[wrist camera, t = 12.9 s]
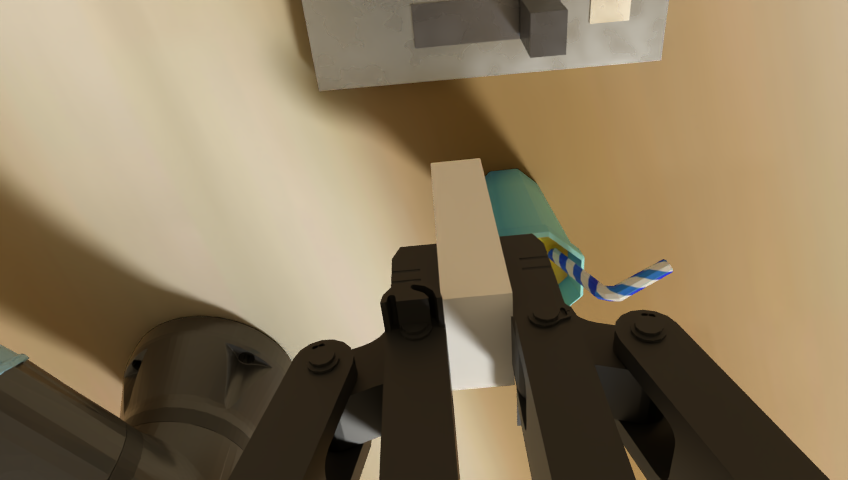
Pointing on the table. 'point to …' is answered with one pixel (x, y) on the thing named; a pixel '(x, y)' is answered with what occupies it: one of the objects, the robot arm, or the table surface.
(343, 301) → the table surface
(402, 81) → the panel
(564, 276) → the cup
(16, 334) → the table surface
